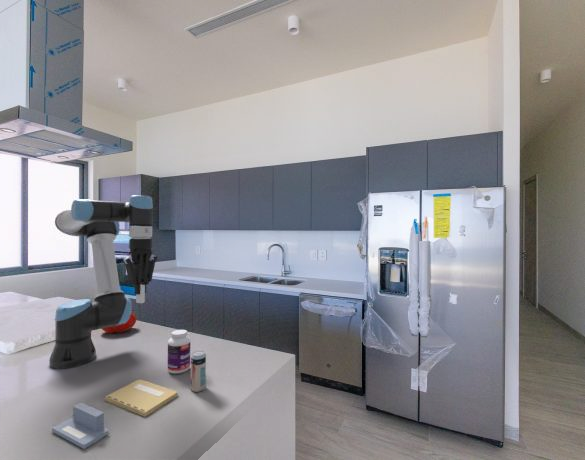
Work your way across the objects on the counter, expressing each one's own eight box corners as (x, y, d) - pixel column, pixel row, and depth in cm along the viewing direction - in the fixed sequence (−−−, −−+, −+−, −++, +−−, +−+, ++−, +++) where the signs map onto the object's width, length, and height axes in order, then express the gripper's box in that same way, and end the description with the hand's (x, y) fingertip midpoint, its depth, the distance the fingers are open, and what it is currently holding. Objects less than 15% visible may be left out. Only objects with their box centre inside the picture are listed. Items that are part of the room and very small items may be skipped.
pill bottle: (182, 376, 108) (182, 336, 108) (162, 373, 110) (163, 334, 110) (194, 366, 116) (194, 329, 116) (175, 364, 118) (176, 327, 118)
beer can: (192, 385, 102) (192, 350, 102) (206, 384, 103) (207, 350, 103) (188, 393, 97) (189, 356, 97) (203, 392, 98) (204, 356, 98)
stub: (52, 431, 78) (52, 412, 78) (76, 418, 84) (76, 400, 84) (84, 449, 72) (84, 428, 72) (108, 433, 78) (108, 414, 78)
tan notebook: (104, 400, 93) (105, 396, 93) (139, 382, 104) (139, 378, 104) (144, 416, 85) (144, 412, 85) (177, 395, 96) (177, 391, 96)
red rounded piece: (95, 332, 153) (96, 312, 153) (129, 324, 165) (129, 306, 165) (106, 338, 144) (106, 318, 143) (141, 330, 156) (141, 311, 156)
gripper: (131, 238, 102) (130, 308, 102) (162, 237, 113) (162, 299, 114) (117, 238, 105) (116, 305, 105) (149, 237, 117) (148, 297, 117)
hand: (140, 302), depth 109 cm, fingers closed
